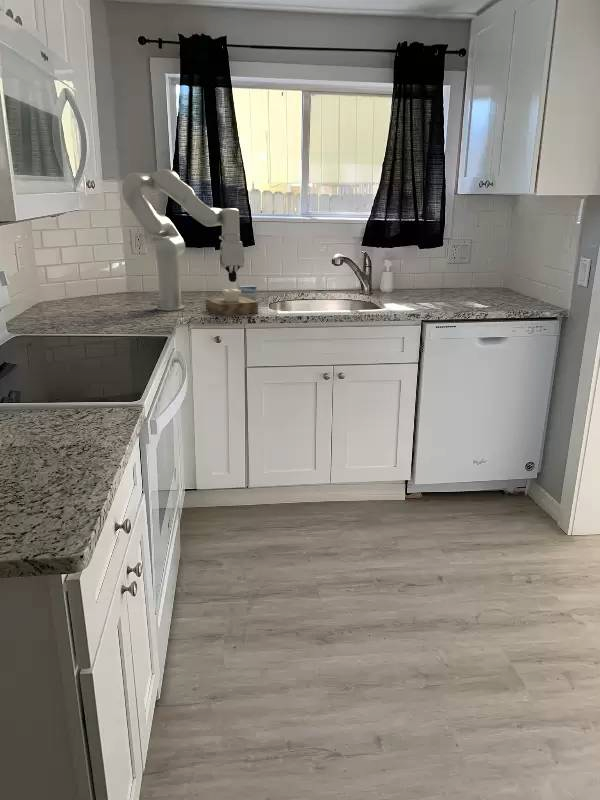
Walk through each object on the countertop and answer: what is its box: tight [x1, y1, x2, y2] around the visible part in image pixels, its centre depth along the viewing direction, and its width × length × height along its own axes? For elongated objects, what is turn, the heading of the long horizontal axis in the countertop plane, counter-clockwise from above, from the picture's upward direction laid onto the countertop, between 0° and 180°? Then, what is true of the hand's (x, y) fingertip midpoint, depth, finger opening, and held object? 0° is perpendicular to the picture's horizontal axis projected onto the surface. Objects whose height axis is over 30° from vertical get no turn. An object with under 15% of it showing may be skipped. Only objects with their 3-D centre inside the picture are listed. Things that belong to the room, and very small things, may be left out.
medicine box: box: [238, 285, 257, 301], centre depth 292 cm, size 8×4×9 cm, turn 105°
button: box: [221, 288, 241, 302], centre depth 271 cm, size 6×6×6 cm
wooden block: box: [205, 297, 259, 317], centre depth 273 cm, size 18×16×5 cm
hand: (232, 281), depth 269 cm, fingers closed
